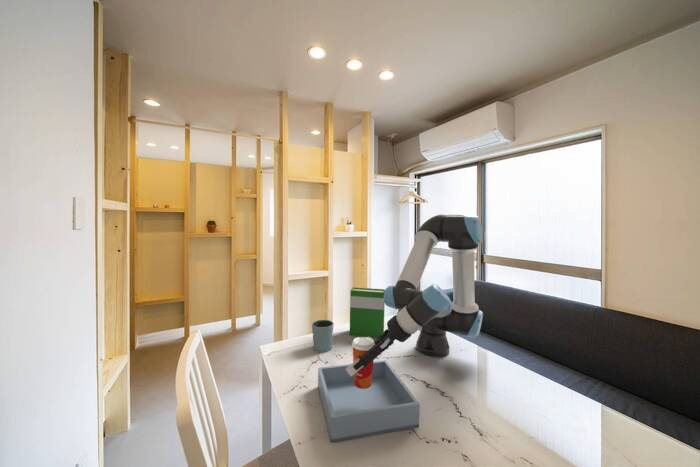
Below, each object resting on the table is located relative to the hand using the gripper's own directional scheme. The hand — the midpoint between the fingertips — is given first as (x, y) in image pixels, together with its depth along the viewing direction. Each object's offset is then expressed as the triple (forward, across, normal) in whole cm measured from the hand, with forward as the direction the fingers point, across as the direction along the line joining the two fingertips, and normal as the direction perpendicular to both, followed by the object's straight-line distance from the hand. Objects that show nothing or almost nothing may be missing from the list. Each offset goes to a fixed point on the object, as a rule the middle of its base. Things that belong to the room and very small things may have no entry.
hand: (353, 366), depth 89 cm
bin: (+6, +1, -11) cm, 13 cm away
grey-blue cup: (+28, +32, +10) cm, 44 cm away
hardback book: (+17, +57, 0) cm, 59 cm away
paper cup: (+1, 0, -6) cm, 6 cm away
